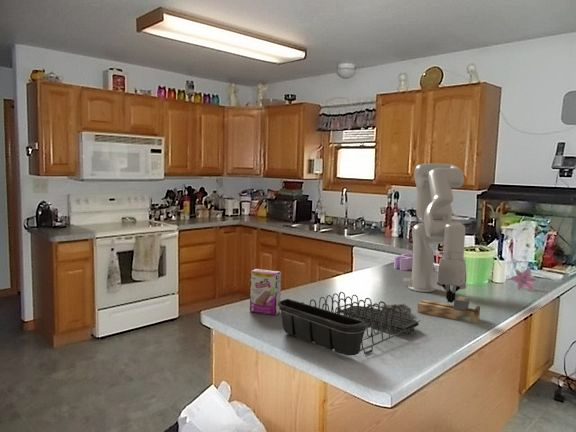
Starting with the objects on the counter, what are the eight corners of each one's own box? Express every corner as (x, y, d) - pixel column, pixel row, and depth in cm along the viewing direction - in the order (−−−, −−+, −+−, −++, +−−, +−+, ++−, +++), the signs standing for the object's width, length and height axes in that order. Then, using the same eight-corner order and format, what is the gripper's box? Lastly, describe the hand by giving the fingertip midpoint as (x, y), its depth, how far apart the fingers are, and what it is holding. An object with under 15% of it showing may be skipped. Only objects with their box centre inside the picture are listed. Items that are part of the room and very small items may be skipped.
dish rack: (271, 334, 152) (272, 300, 151) (354, 309, 182) (355, 280, 181) (349, 368, 127) (351, 327, 126) (430, 332, 157) (432, 298, 156)
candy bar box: (249, 312, 174) (249, 270, 173) (254, 308, 179) (254, 268, 177) (276, 316, 171) (277, 273, 169) (280, 312, 175) (281, 271, 174)
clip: (406, 271, 252) (407, 259, 251) (388, 267, 261) (389, 256, 261) (427, 267, 264) (428, 256, 263) (409, 264, 274) (410, 252, 273)
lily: (504, 289, 221) (510, 275, 215) (510, 276, 229) (517, 262, 223) (529, 301, 215) (536, 286, 210) (535, 287, 223) (542, 273, 217)
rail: (417, 312, 179) (418, 300, 178) (421, 308, 184) (422, 296, 184) (476, 323, 167) (477, 310, 167) (479, 318, 172) (480, 306, 172)
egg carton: (386, 318, 171) (386, 308, 171) (379, 312, 179) (380, 302, 178) (412, 317, 173) (413, 307, 172) (405, 311, 180) (405, 301, 180)
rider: (453, 311, 172) (454, 299, 171) (456, 308, 176) (457, 295, 176) (465, 313, 169) (466, 301, 169) (468, 310, 174) (469, 297, 173)
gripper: (430, 254, 174) (428, 300, 176) (471, 259, 166) (468, 307, 167) (436, 251, 180) (433, 296, 182) (475, 256, 172) (472, 302, 174)
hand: (450, 301), depth 175 cm, fingers closed
